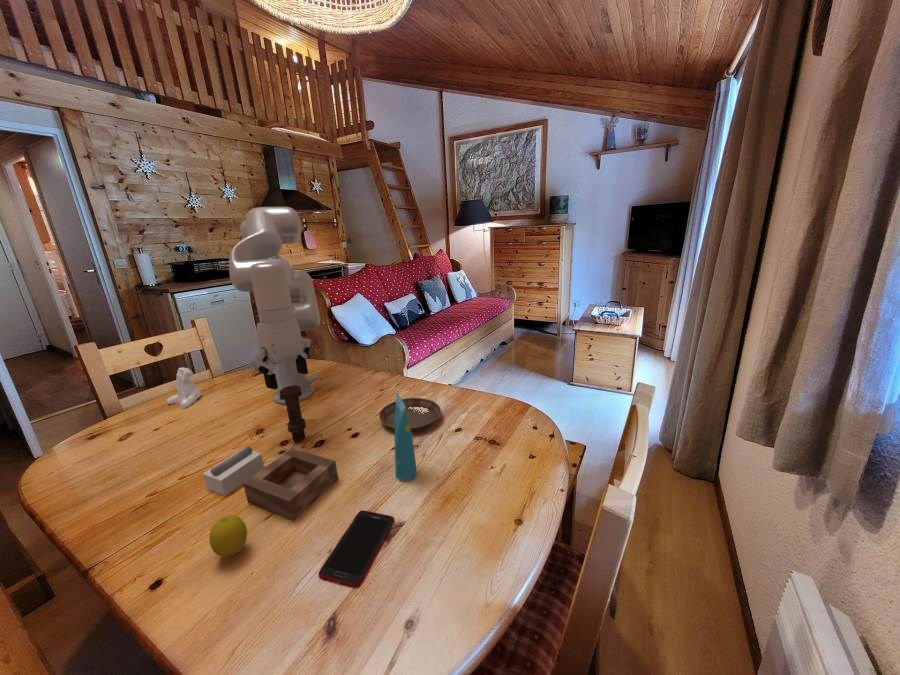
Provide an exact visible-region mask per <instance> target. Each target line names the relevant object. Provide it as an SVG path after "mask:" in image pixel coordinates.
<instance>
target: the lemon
mask: <svg viewBox="0 0 900 675" xmlns="http://www.w3.org/2000/svg"><path fill="white" fill-rule="evenodd" d="M247 530H248V529H247V525H246V523H245V522H244V520H243V519H242V518H241V517H240V516H238V515H235V514H227V515H223V516H222V517H220V518H219V519H217V520H216V521H215V522H214V523H213V525H212V526H211V528H210V531H209V544H210V548H211V550H212V552H213V553H214V554H216V555H217V556H220V557H223V558H224V557H225V558H228V557H231V556H234V555H236V554H237V553H239V552H240V550H242V549H243V547H244V545H245V544H246V542H247V540H248V539H247V538H248V531H247Z"/></svg>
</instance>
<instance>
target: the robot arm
mask: <svg viewBox="0 0 900 675" xmlns="http://www.w3.org/2000/svg"><path fill="white" fill-rule="evenodd" d="M239 230H240V234H241V238H242V239H241V240H240V241H239V242H238V243H236V244H235V245H234V246H233V247H232V249H231V250H230V253H229V256H228V257H229V258H228V263H229V266H228V268H229V269H228V270H229V280H230V281H231V284H232V286H233V287H234V288H235V289H236V290H237V291H239V292H241V293H242V292H243V293H250V292H253V294H254V299H255V305H256V309H257V313H258V314H257V315H258V316H257V317H258V318H259V319H258V320H259V323H256V333H255V334H256V346H257V353H256V354H255V355H254V356H253V358H251V360H250V361H249V363H250V364H251V366H252V368H254V370H255V371H257V372H259V373H260V374H262V375H263V379H264V382H265V386H266V388H267V389H270V390H276V392H275V393H273V395H272V399H273V401H274V402H275V403H277V404H280V405H286V403H285V400H281V399H280V392H279V391H280V390H281V389H283V388H284V387H288V386H294V385H296V386H300V387H301V393H302V395H301V396H299V403H301V402H302V401H305V400H306V399H307V400H308V399H309V398H310V397H311V396H312V395H313V394H314V388H313V386H311V385H312V383H314V382H316V381H317V380H318V376H317V375H316V374H314V375H312V376H310V377H309V376H308V375H307V374H309V370H308V363H307V359H308V358H309V357H308V354H309V352H310V346H311V341H312V340H311V339H309V338H306V337H303V336H302V333H301V332H305V331H312V330H315V329H317V328H318V327H319V326H320V324H321V316H320V311H319V310H320V309H319V306H318V301H317V296H316V292H315V287H314V281H313V279H312V277H311V276H310V274H309V273H308V272H306V271H303V270H295V269H294V266H293V264H291V263H290V262H289V261H288V260H287V259H284V258H283V257H282V256H281V255H280V254H279V253H280V252H281V250H282V248H283V245H294V244H298V243H299V242H300V241H301V234H302V223H301V219H300V216H299V214H298V212H297V211H296V210H295V209H294V208H292V207H290V206H259V207H255V208H252V209H250V210H249V211H248V212H247V213H246V215H245V220H244V221H242V222H241V224H240V227H239Z"/></svg>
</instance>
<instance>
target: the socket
mask: <svg viewBox="0 0 900 675" xmlns="http://www.w3.org/2000/svg"><path fill="white" fill-rule="evenodd" d="M338 481H339V475H338V468H337V461H336V460H332V459H330V458H327V457H323V456H321V455H320V456H319V455H317V454H314V453H310V452H307V451H304V450H300V449H297V448H293V447H291V448H290V449H289V450H288V451H286V452H284V453H283V454H282V455H281V456H279V457H278V458H276V459H275V460H274V461H272V462H271V463H269V464H268V465H267V466H264V468H263V469H262V470H261V471H259V472H258V473H256V474H255V475H254V476H252V477H251V478H250V479H248V480H247V481H245V482H244V483H243V484H242V486H243V488H244V493H245V496H246V501H247V504H249V505H252V506H255V507H257V508H259V509H262V510H265V511H267V512H270V513H272V514H274V515H276V516H279V517H281V518H283V519H286V520H289V521H291V522H295V521H296V520H297V519H298V518H299V517H300V516H302V515H303V514H304V513H305V512H306V511H307V510H309V508H310V507H311V506H312V505H313V504H314V503H315V502H317V500H319V499H320V498H321V497H322V496H323V495H324V494H325V493H326V492H327V491H328V490H329V489H331V487H332V486H334V484H336V482H338Z"/></svg>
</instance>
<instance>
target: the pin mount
mask: <svg viewBox="0 0 900 675" xmlns="http://www.w3.org/2000/svg"><path fill="white" fill-rule="evenodd" d="M264 468H265V466H264V460H263V456H262V453H260V452H257V451H254V450H253V448H252V447H251V446H249V445H248V446H246V447H243V448H241V449H240V450H238V451H236V452H235V453H233V454H232V455H231V456H229V457H227V458H226V459H224V460H223V461H220V462H219V463H217V464H216V465H214V466H213V467H211V468H209V469H208V470H206V471H204V472H203V473H202V475H203V479H204V483H205V486H206V489H207V490H210V491H212V492H214V493H217V494H219V495H222V496H224V497H226V496H227V495H228V494H230V493H231V492H233V491H234V490H235V489H237V488H239V487H240V486H241V485H243V483H244V482H246V481H247V480H248V479H250V478H251V477H253V476H254V475H255V474H257V473H258V472H260V471H261V470H262V469H264Z"/></svg>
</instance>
